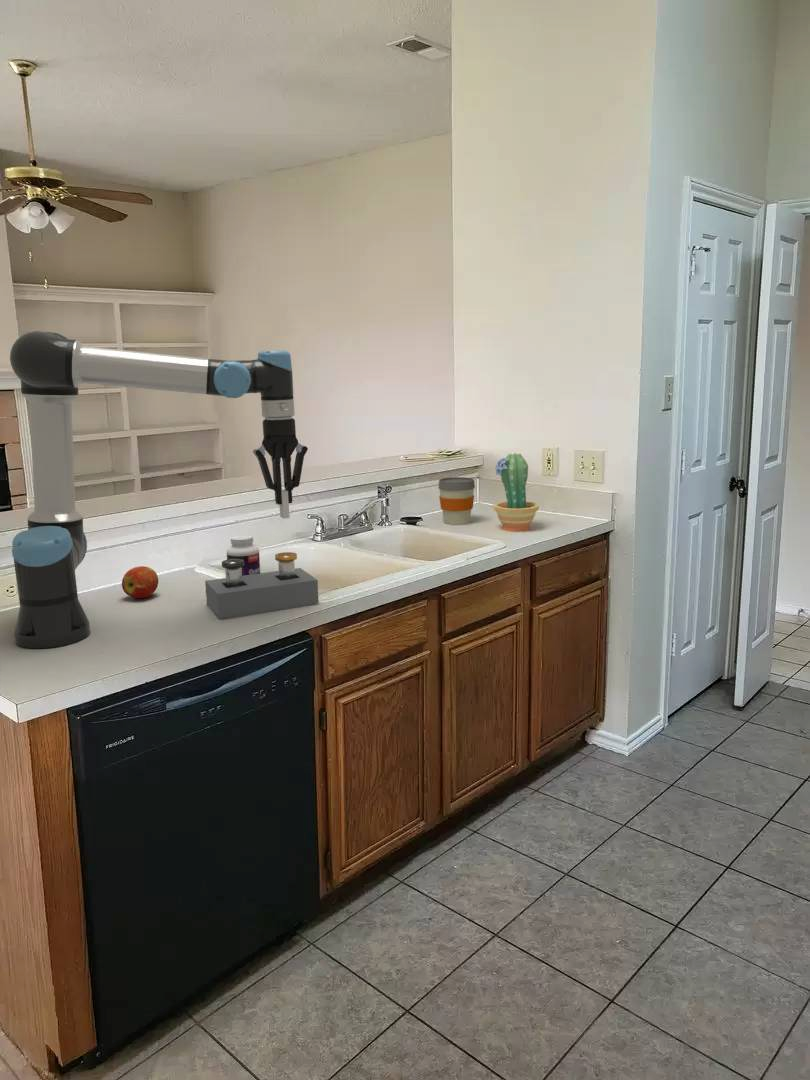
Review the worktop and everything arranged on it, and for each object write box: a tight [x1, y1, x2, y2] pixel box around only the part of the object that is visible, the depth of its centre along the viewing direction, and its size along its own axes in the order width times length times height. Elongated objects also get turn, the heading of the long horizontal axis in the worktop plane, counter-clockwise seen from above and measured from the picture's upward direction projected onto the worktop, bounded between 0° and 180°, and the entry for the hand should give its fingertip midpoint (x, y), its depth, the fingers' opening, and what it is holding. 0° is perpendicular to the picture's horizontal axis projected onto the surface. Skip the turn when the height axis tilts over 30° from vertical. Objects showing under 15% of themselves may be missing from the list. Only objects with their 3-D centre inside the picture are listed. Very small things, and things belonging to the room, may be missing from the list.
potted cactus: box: [493, 453, 540, 532], centre depth 279 cm, size 15×15×25 cm
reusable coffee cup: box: [438, 476, 476, 526], centre depth 292 cm, size 13×13×15 cm
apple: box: [121, 565, 159, 599], centre depth 211 cm, size 8×8×8 cm
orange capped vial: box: [274, 551, 298, 581], centre depth 204 cm, size 5×5×8 cm
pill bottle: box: [226, 534, 261, 576], centre depth 212 cm, size 8×8×14 cm
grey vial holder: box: [204, 567, 320, 620], centre depth 203 cm, size 24×13×6 cm, turn 115°
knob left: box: [221, 559, 244, 588], centre depth 199 cm, size 5×5×8 cm
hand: (284, 517), depth 201 cm, fingers closed
